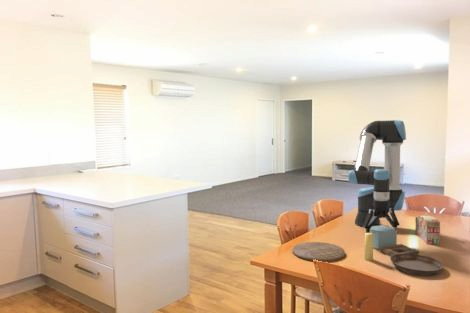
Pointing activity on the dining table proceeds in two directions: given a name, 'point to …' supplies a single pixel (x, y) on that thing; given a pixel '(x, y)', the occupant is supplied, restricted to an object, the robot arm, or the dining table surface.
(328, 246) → the trivet
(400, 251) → the socket board
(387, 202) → the robot arm
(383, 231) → the block
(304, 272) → the dining table surface
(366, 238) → the peg
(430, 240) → the printed food box
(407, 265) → the plant saucer
